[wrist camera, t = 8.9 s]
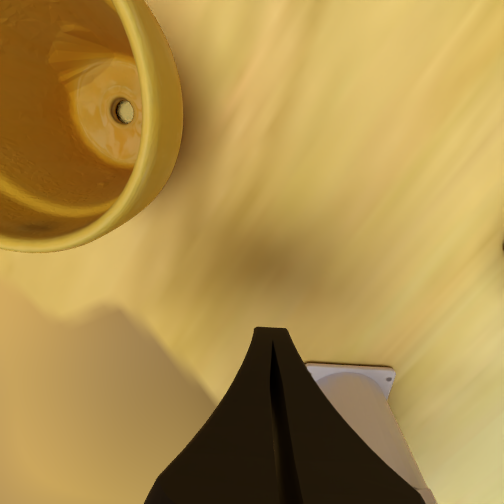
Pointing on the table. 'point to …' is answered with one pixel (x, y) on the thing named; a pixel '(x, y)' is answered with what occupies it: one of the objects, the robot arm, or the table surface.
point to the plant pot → (82, 119)
